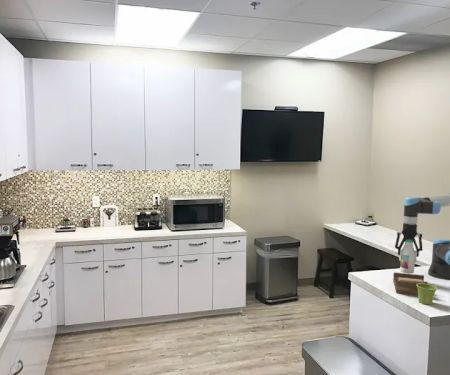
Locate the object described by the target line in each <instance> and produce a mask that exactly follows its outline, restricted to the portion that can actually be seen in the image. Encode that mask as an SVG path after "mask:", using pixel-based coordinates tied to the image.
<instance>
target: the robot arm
mask: <svg viewBox="0 0 450 375" xmlns="http://www.w3.org/2000/svg"><path fill="white" fill-rule="evenodd" d="M443 207H444V208H445V207H450V193H444V194H437V195H432V196H426V197H415V196H406V197H405V198H404V204H403V221H402V222H403V224H402V230H401V231H396V235H397V236H396V241H395V243H394V249H396V250H397V255H398V256H399V258H398V260H399V261H400V262H401V255H402V248H403V247H404V245H405V240H406V239H413V246H414V247H415V263H417V257H419V255H420V252H422V251H423V241H422V238H423V234H422V233H419V232H418V230H417V229H418V216H419V215H418V214H423V215H426V214H427V215H438V214H439V213H440V212H441V208H443ZM401 236H403V237H402V240H401V241H400V237H401ZM416 237H418V244H419V245H418V244H417V241H416V239H415V238H416ZM399 242H400V243H399ZM432 242H433V243H432V253H431V254H432V255H431V256H432V257H431V263H430V265H429V268H428V269H427V270H428V271H427V274H428V276H430V277H433V278H436V279H441V280H450V239H445V238H435V239H433V241H432Z"/></svg>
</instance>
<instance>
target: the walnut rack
mask: <svg viewBox="0 0 450 375" xmlns="http://www.w3.org/2000/svg"><path fill="white" fill-rule="evenodd" d="M399 278H409V279H419V280H423V282H424V283H425V284H428V281H425V275H424V274H414V273H403V272H394V271H393V278H392V280H393V281H392V282H393V286H395V287H394V290H395V294H400V295H408V296H415V297H418V288H417V284H418V283H416V282H406V281H398V279H399Z"/></svg>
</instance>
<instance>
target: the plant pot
mask: <svg viewBox="0 0 450 375" xmlns="http://www.w3.org/2000/svg"><path fill="white" fill-rule="evenodd" d="M417 288H418V296H417V297H418V298H417V299H418V302H419V303H420V304H422V305H429V306H430V305H432V304H433V301H434V297H435V293H436V291H437V290H438V287H437V286H436V285H433V284H430V283H427V284H425V283H418V284H417Z"/></svg>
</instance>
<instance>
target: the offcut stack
mask: <svg viewBox="0 0 450 375" xmlns="http://www.w3.org/2000/svg"><path fill="white" fill-rule="evenodd" d="M398 281H406V282H416V283H424V282H423V280H419V279H409V278H399V279H398Z"/></svg>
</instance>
